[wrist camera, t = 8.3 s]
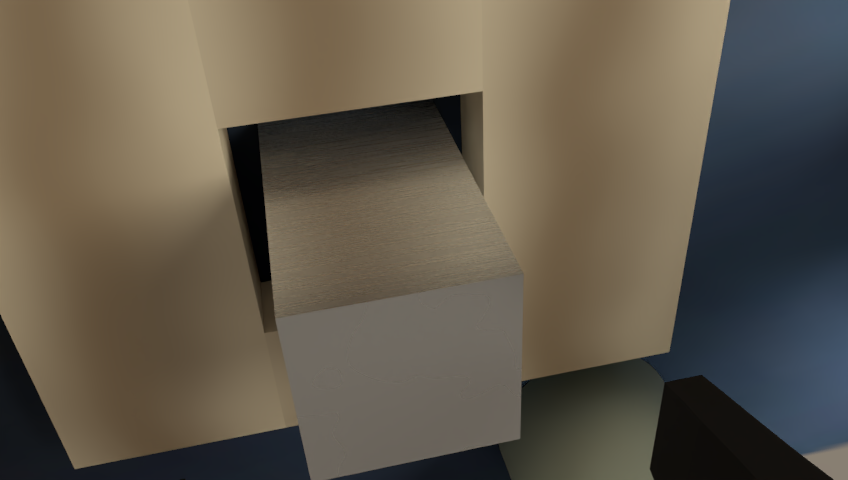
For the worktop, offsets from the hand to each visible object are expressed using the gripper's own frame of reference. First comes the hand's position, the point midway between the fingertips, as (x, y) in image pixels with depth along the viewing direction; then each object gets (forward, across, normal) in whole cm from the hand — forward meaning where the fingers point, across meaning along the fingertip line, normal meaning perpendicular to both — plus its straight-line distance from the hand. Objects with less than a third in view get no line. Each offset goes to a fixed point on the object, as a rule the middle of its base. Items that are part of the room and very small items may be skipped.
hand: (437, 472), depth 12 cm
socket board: (+9, 0, 0) cm, 9 cm away
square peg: (+9, 0, 0) cm, 9 cm away
